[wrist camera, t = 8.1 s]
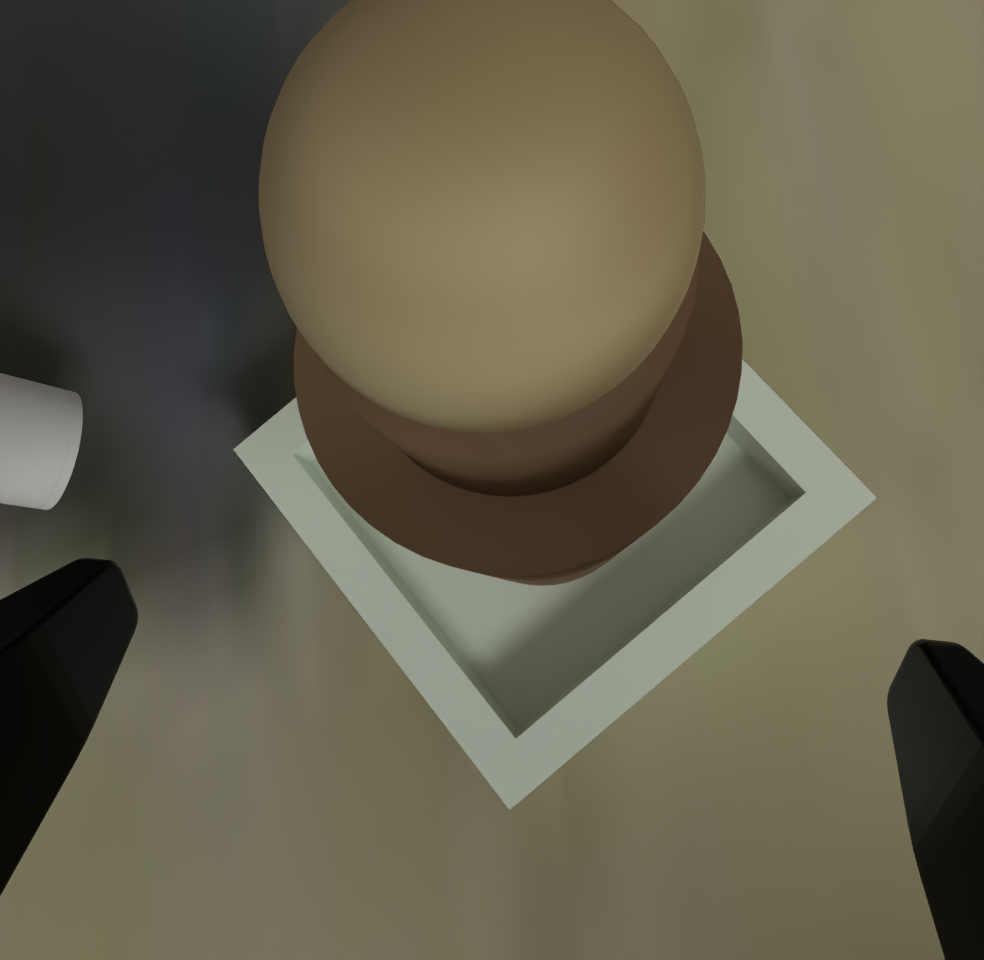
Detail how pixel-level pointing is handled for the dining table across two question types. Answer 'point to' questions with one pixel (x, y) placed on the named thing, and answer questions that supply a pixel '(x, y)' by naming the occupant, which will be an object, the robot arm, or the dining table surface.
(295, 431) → the keeper dish
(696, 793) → the dining table surface
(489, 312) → the pepper mill
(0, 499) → the wall hook
